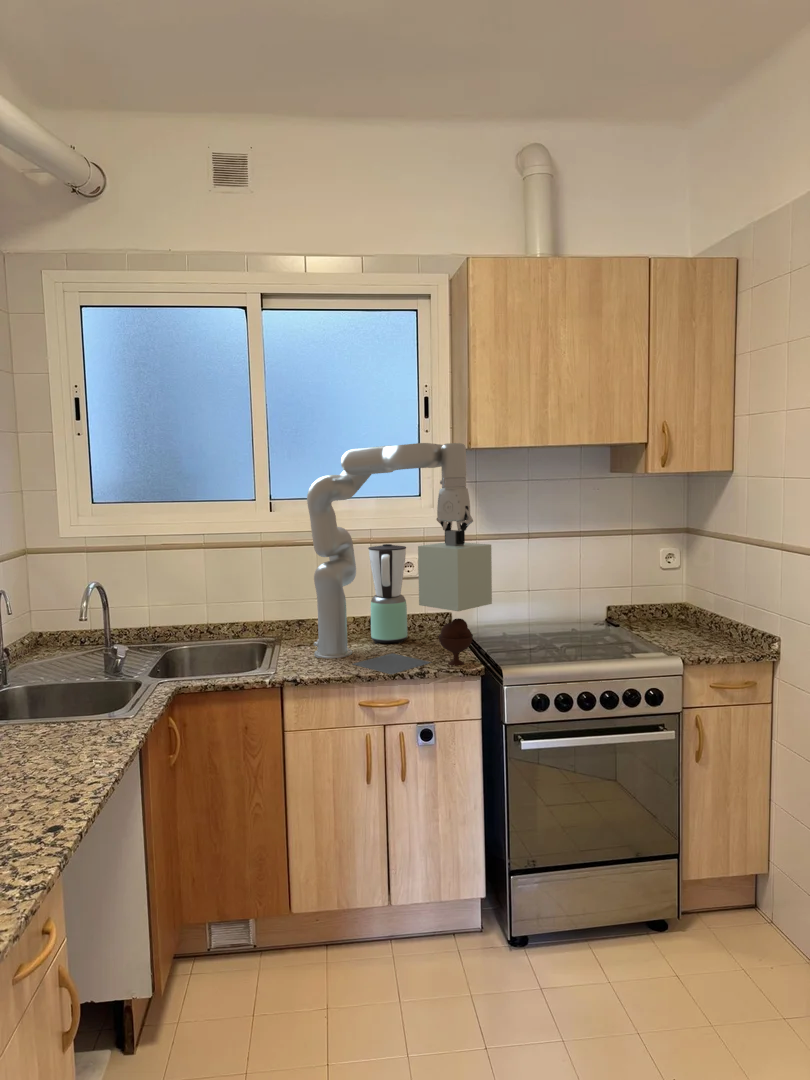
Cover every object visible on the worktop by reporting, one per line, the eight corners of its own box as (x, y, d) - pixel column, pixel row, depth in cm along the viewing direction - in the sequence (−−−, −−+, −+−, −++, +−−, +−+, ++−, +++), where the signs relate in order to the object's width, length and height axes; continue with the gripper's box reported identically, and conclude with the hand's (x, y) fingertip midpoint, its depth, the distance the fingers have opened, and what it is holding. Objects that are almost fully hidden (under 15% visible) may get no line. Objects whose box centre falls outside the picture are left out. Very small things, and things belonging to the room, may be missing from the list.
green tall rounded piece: (372, 636, 272) (370, 542, 269) (408, 636, 272) (406, 542, 269) (368, 649, 253) (365, 548, 250) (407, 648, 253) (405, 547, 250)
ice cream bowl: (473, 660, 235) (472, 614, 234) (473, 670, 224) (472, 621, 223) (440, 660, 236) (439, 614, 235) (438, 669, 225) (437, 621, 224)
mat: (351, 665, 232) (351, 664, 232) (392, 654, 245) (392, 653, 245) (391, 676, 219) (391, 674, 219) (432, 664, 232) (432, 662, 232)
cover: (419, 605, 228) (417, 531, 226) (452, 598, 240) (452, 527, 238) (458, 611, 217) (457, 533, 215) (491, 603, 228) (491, 530, 226)
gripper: (425, 484, 228) (426, 543, 230) (467, 484, 216) (467, 546, 218) (441, 483, 233) (442, 541, 235) (483, 483, 222) (483, 544, 223)
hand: (454, 542), depth 227 cm, fingers closed on cover, 4 cm apart
